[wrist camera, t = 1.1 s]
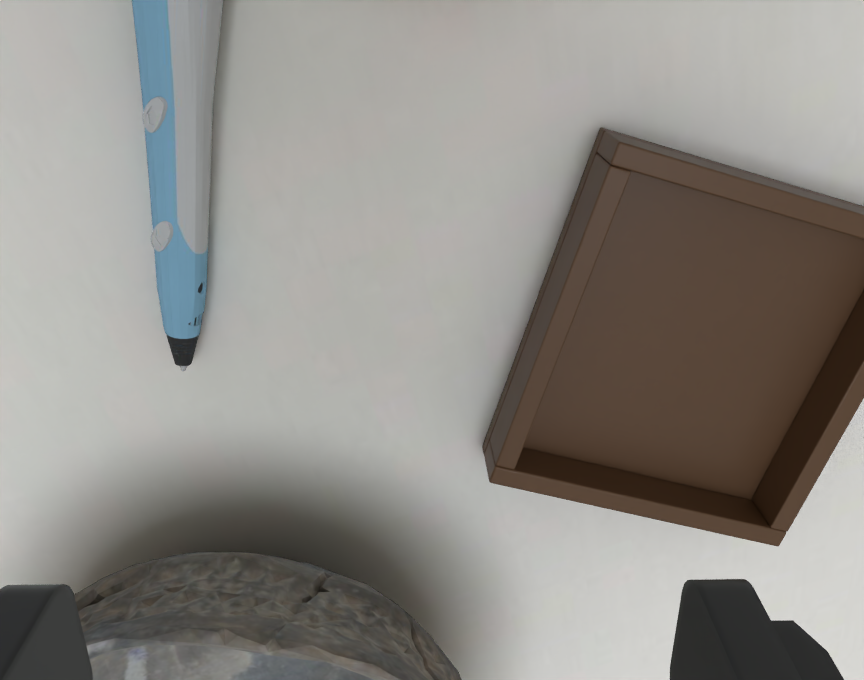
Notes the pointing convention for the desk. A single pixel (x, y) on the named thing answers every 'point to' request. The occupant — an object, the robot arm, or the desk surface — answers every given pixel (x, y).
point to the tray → (687, 345)
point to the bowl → (249, 624)
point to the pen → (179, 153)
